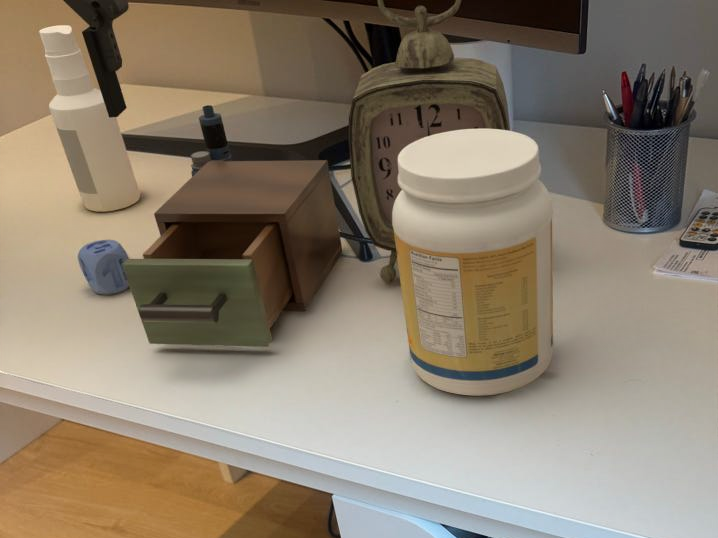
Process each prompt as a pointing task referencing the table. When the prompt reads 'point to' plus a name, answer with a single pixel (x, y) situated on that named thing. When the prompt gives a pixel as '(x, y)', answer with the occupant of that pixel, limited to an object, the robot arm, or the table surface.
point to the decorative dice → (104, 266)
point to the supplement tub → (475, 260)
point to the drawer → (212, 283)
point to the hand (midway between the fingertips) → (46, 117)
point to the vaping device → (211, 140)
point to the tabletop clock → (414, 115)
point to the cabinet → (269, 212)
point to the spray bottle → (87, 127)
